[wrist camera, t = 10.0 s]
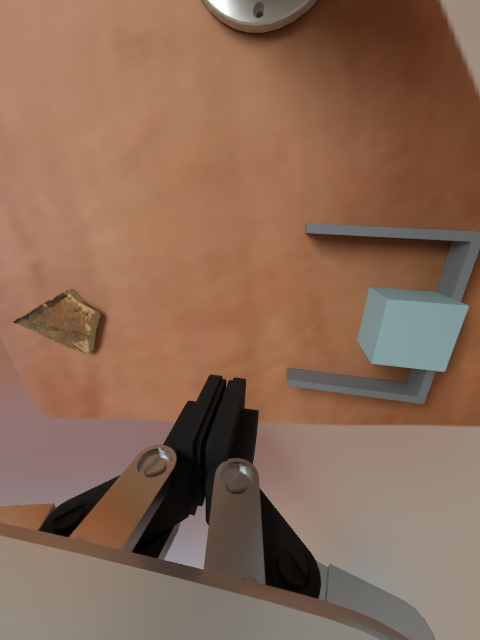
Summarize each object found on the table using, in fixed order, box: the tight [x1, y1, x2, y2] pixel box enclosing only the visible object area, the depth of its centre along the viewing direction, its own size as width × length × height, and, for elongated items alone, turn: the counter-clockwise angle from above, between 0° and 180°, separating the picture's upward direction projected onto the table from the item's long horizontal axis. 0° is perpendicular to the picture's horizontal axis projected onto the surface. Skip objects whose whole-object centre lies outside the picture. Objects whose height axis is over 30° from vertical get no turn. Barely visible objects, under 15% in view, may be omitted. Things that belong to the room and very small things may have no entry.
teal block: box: [357, 287, 469, 372], centre depth 24 cm, size 6×6×5 cm
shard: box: [13, 289, 101, 353], centre depth 32 cm, size 11×8×2 cm
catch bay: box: [287, 223, 480, 404], centre depth 25 cm, size 17×14×2 cm
